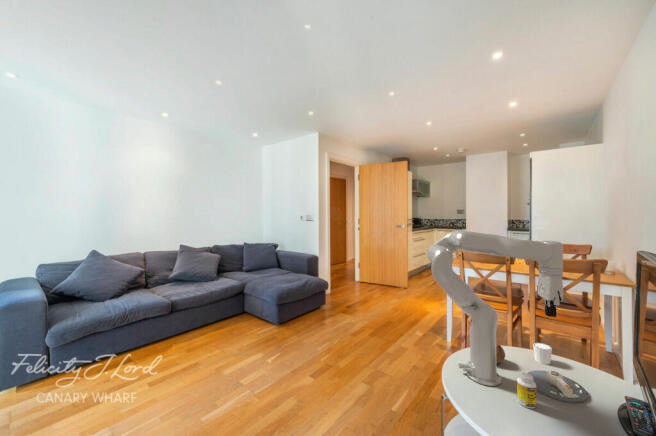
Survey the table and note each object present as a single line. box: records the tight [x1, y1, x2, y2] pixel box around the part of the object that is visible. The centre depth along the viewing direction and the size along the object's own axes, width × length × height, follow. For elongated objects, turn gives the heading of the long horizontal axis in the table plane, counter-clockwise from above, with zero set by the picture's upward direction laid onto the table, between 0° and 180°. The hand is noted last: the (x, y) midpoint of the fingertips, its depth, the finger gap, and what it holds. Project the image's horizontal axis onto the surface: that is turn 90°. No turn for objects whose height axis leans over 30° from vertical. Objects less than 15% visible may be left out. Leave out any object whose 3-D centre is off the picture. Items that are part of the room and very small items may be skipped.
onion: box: [496, 342, 506, 364], centre depth 122 cm, size 10×9×10 cm
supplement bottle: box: [516, 372, 537, 409], centre depth 95 cm, size 6×6×10 cm
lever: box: [547, 370, 573, 398], centre depth 100 cm, size 11×5×4 cm, turn 166°
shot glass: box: [532, 342, 553, 365], centre depth 121 cm, size 7×7×7 cm
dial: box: [527, 369, 588, 404], centre depth 103 cm, size 18×18×2 cm
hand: (550, 315), depth 107 cm, fingers closed
